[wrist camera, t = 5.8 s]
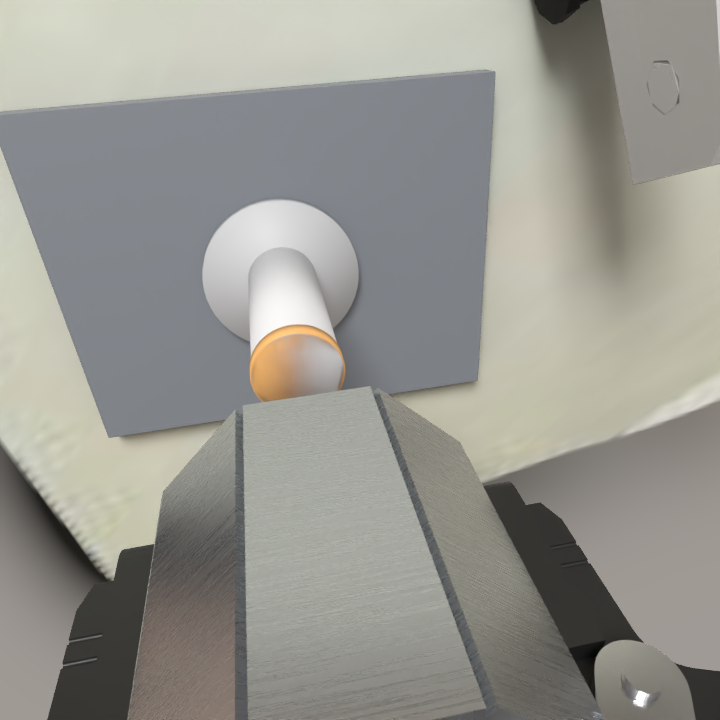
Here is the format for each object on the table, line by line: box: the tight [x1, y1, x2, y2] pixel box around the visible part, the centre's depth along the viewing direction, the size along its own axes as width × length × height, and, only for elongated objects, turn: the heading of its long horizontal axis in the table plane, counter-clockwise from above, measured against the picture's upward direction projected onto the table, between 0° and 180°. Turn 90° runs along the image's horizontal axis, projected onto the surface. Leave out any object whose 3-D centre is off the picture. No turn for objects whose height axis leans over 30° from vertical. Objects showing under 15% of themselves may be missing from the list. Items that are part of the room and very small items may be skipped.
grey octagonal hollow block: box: [127, 386, 605, 720], centre depth 10 cm, size 6×8×6 cm
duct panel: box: [0, 70, 495, 438], centre depth 21 cm, size 18×14×9 cm
